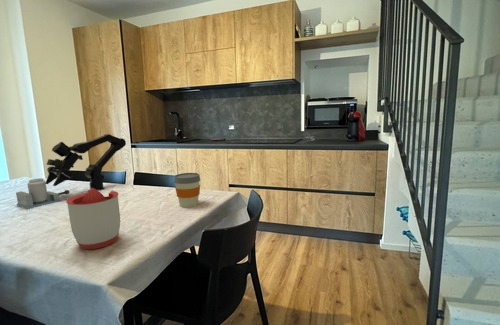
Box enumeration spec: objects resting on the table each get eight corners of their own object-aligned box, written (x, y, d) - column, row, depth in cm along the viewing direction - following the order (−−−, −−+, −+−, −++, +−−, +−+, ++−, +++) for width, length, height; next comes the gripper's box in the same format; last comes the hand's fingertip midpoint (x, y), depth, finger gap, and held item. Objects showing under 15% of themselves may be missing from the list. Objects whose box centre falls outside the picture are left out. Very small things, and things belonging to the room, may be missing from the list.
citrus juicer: (132, 230, 105) (126, 180, 101) (111, 252, 87) (103, 193, 84) (91, 231, 104) (85, 182, 101) (62, 254, 87) (53, 195, 84)
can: (51, 200, 144) (47, 178, 142) (34, 204, 138) (30, 181, 136) (44, 198, 148) (40, 177, 146) (28, 202, 141) (24, 180, 139)
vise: (64, 194, 159) (62, 182, 157) (75, 197, 152) (73, 185, 151) (16, 205, 140) (14, 192, 139) (27, 209, 133) (24, 195, 132)
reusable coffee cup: (195, 209, 127) (193, 178, 124) (171, 208, 129) (169, 177, 127) (205, 201, 139) (203, 172, 136) (182, 200, 141) (180, 172, 139)
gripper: (48, 152, 153) (28, 175, 146) (64, 154, 143) (43, 178, 136) (65, 163, 161) (47, 185, 153) (81, 165, 151) (63, 189, 144)
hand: (50, 184), depth 146 cm, fingers open, 9 cm apart
